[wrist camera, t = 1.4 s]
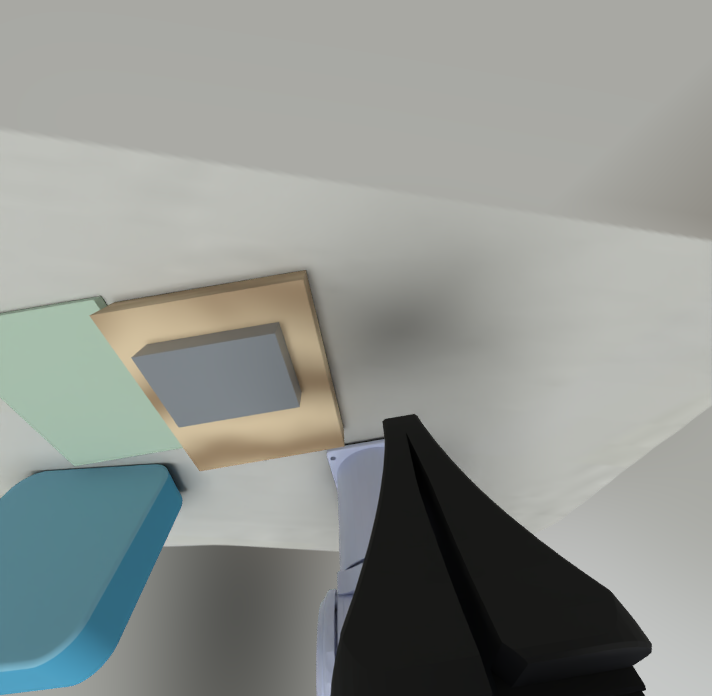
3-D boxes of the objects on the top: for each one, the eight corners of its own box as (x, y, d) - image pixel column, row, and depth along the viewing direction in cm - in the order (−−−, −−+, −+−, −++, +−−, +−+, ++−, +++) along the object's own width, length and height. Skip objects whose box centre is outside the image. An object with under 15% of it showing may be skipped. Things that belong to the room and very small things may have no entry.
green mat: (195, 440, 23) (192, 446, 23) (80, 460, 23) (74, 466, 23) (100, 296, 16) (93, 299, 16) (-62, 323, 16) (-75, 328, 16)
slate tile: (301, 392, 19) (299, 407, 18) (189, 411, 19) (178, 427, 18) (279, 321, 16) (274, 333, 15) (146, 344, 16) (130, 357, 15)
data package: (56, 501, 26) (-129, 712, 15) (27, 470, 23) (-213, 695, 13) (189, 491, 27) (101, 683, 16) (174, 461, 24) (61, 662, 14)
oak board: (343, 428, 24) (344, 446, 22) (209, 450, 24) (199, 471, 22) (305, 270, 17) (303, 279, 15) (114, 302, 17) (89, 315, 15)
